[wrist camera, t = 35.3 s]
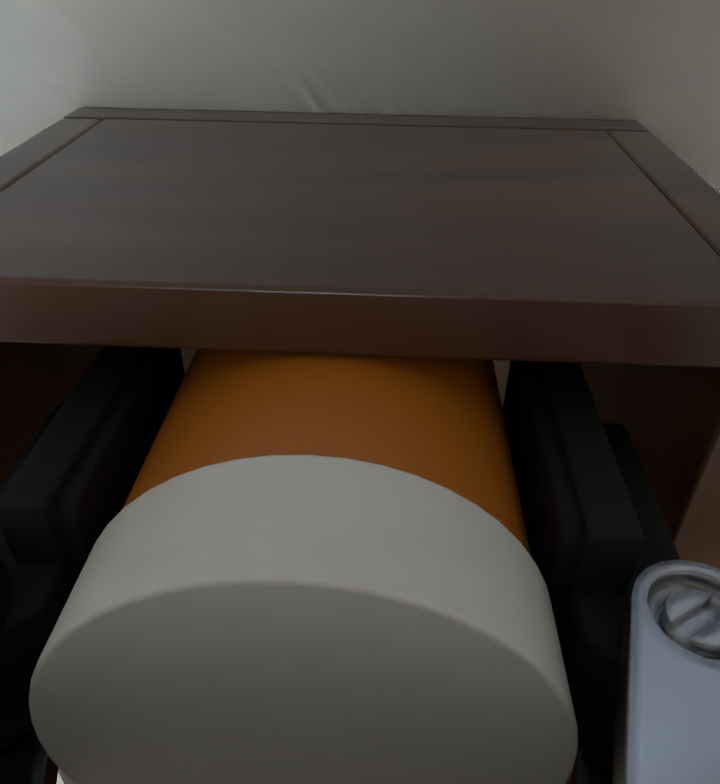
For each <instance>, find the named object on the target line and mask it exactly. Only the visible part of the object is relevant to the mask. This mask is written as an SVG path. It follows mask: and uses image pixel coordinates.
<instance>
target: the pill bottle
mask: <svg viewBox="0 0 720 784" xmlns="http://www.w3.org/2000/svg"><path fill="white" fill-rule="evenodd" d="M29 708H30V715H31V722H32V724H33V727H34V729H35V732H36V734H37V737H38V740H39V741H40V743H41V744H42V746H43V748H44V749H45V751H46V752H47V754H48V755H49V757H50V758H51V759H52V760H53V762H54V763H55V764H56V765H57V766H58V767H59V768H60V770H61V771H62V772H63V773H64V774H65V775H66V776H67V777H68V778H70V779H71V780H72V781H73V782H74V783H75V784H566V782H567V780H568V778H569V776H570V774H571V772H572V770H573V766H574V762H575V758H576V754H577V750H578V727H577V723H576V718H575V713H574V708H573V704H572V699H571V694H570V690H569V685H568V680H567V675H566V671H565V666H564V661H563V657H562V652H561V647H560V642H559V638H558V633H557V628H556V623H555V619H554V614H553V609H552V605H551V601H550V597H549V593H548V589H547V585H546V583H545V581H544V579H543V577H542V575H541V573H540V570H539V568H538V566H537V564H536V563H535V561H534V560H533V559H532V555H531V550H530V545H529V540H528V535H527V530H526V525H525V520H524V515H523V509H522V504H521V499H520V494H519V489H518V484H517V479H516V474H515V469H514V464H513V459H512V454H511V449H510V444H509V438H508V433H507V428H506V423H505V418H504V413H503V408H502V403H501V398H500V393H499V388H498V383H497V378H496V373H495V368H494V362H493V360H480V359H453V358H425V357H398V356H370V355H342V354H315V353H287V352H260V351H232V350H204V349H197V350H196V352H195V354H194V357H193V359H192V361H191V363H190V365H189V367H188V369H187V372H186V374H185V376H184V378H183V380H182V382H181V384H180V387H179V389H178V391H177V393H176V395H175V397H174V399H173V402H172V404H171V406H170V408H169V410H168V412H167V414H166V417H165V419H164V421H163V423H162V425H161V427H160V429H159V432H158V434H157V436H156V438H155V440H154V442H153V444H152V447H151V449H150V451H149V453H148V455H147V457H146V459H145V462H144V464H143V466H142V468H141V470H140V472H139V474H138V477H137V479H136V481H135V483H134V485H133V487H132V489H131V492H130V494H129V496H128V498H127V500H126V502H125V504H124V507H123V509H122V510H121V511H120V512H119V513H118V514H117V515H116V516H115V517H114V518H113V520H112V521H111V522H110V523H109V524H108V525H107V526H106V527H105V529H104V530H103V532H102V533H101V535H100V536H99V538H98V539H97V541H96V542H95V544H94V546H93V548H92V550H91V552H90V554H89V556H88V559H87V561H86V563H85V565H84V567H83V569H82V571H81V573H80V575H79V577H78V579H77V581H76V583H75V585H74V587H73V589H72V592H71V594H70V596H69V598H68V600H67V602H66V604H65V606H64V608H63V610H62V612H61V614H60V616H59V618H58V620H57V623H56V625H55V627H54V629H53V631H52V633H51V635H50V637H49V639H48V641H47V643H46V645H45V647H44V649H43V651H42V653H41V656H40V658H39V660H38V662H37V665H36V667H35V670H34V672H33V675H32V677H31V683H30V692H29Z"/></svg>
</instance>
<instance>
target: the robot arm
mask: <svg viewBox="0 0 720 784" xmlns="http://www.w3.org/2000/svg"><path fill="white" fill-rule="evenodd" d="M184 376H185V372H184V366H183V361H182V355H181V349H177V348H149V347H122V346H103V347H102V349H101V350H100V351H99V353H98V354H97V356H96V357H95V359H94V360H93V362H92V363H91V364H90V366H89V367H88V369H87V370H86V372H85V373H84V375H83V376H82V377H81V379H80V380H79V382H78V383H77V385H76V386H75V388H74V389H73V390H72V392H71V393H70V395H69V396H68V398H67V399H66V401H64V402H61V403H60V404H59V405H58V406H57V407H56V408H55V409H54V411H53V412H52V414H51V415H50V416H49V418H48V419H47V421H46V422H45V423H44V425H43V426H42V428H41V429H40V431H39V432H38V433H37V435H36V436H35V438H34V439H33V441H32V442H31V443H30V445H29V446H28V448H27V449H26V451H25V452H24V453H23V455H22V456H21V458H20V459H19V461H18V462H17V463H16V465H15V466H14V468H13V469H12V470H11V472H10V473H9V475H8V476H7V478H6V479H5V480H4V482H3V483H2V485H1V486H0V784H56V782H57V774H58V766H57V765H56V764H55V763H54V762H53V760H52V759H51V758H50V757H49V755H48V754H47V752H46V751H45V749H44V748H43V746H42V744H41V743H40V741H39V740H38V737H37V734H36V732H35V729H34V727H33V724H32V722H31V715H30V708H29V692H30V683H31V677H32V675H33V672H34V670H35V667H36V665H37V662H38V660H39V658H40V656H41V653H42V651H43V649H44V647H45V645H46V643H47V641H48V639H49V637H50V635H51V633H52V631H53V629H54V627H55V625H56V623H57V620H58V618H59V616H60V614H61V612H62V610H63V608H64V606H65V604H66V602H67V600H68V598H69V596H70V594H71V592H72V589H73V587H74V585H75V583H76V581H77V579H78V577H79V575H80V573H81V571H82V569H83V567H84V565H85V563H86V561H87V559H88V556H89V554H90V552H91V550H92V548H93V546H94V544H95V542H96V541H97V539H98V538H99V536H100V535H101V533H102V532H103V530H104V529H105V527H106V526H107V525H108V524H109V523H110V522H111V521H112V520H113V518H114V517H115V516H116V515H117V514H118V513H119V512H120V511H121V510H122V509H123V507H124V504H125V502H126V500H127V498H128V496H129V494H130V492H131V489H132V487H133V485H134V483H135V481H136V479H137V477H138V474H139V472H140V470H141V468H142V466H143V464H144V462H145V459H146V457H147V455H148V453H149V451H150V449H151V447H152V444H153V442H154V440H155V438H156V436H157V434H158V432H159V429H160V427H161V425H162V423H163V421H164V419H165V417H166V414H167V412H168V410H169V408H170V406H171V404H172V402H173V399H174V397H175V395H176V393H177V391H178V389H179V387H180V384H181V382H182V380H183V378H184ZM503 413H504V418H505V423H506V428H507V433H508V438H509V444H510V449H511V454H512V459H513V464H514V469H515V474H516V479H517V484H518V489H519V494H520V499H521V504H522V509H523V515H524V520H525V525H526V530H527V535H528V540H529V545H530V550H531V555H532V559H533V560H534V561H535V563H536V564H537V566H538V568H539V570H540V573H541V575H542V577H543V579H544V581H545V583H546V585H547V589H548V593H549V597H550V601H551V605H552V609H553V614H554V619H555V623H556V628H557V633H558V638H559V642H560V647H561V652H562V657H563V661H564V666H565V671H566V675H567V680H568V685H569V690H570V694H571V699H572V704H573V708H574V713H575V718H576V723H577V727H578V750H577V754H576V758H575V762H574V766H573V770H572V776H571V784H720V569H718V568H715V567H712V566H709V565H706V564H704V563H701V562H695V561H688V560H681V559H680V556H679V554H678V552H677V549H676V547H675V544H674V542H673V540H672V537H671V535H670V532H669V530H668V528H667V525H666V523H665V521H664V518H663V516H662V513H661V511H660V509H659V506H658V504H657V501H656V499H655V497H654V494H653V492H652V489H651V487H650V485H649V482H648V480H647V477H646V475H645V473H644V470H643V468H642V465H641V463H640V461H639V458H638V456H637V453H636V451H635V449H634V446H633V444H632V442H631V439H630V437H629V434H628V432H627V431H626V429H625V427H624V426H622V425H621V424H615V423H602V421H601V418H600V416H599V413H598V411H597V408H596V405H595V403H594V400H593V397H592V395H591V392H590V389H589V387H588V384H587V381H586V379H585V376H584V373H583V371H582V368H581V365H580V363H563V362H536V361H510V368H509V374H508V380H507V386H506V392H505V398H504V404H503Z"/></svg>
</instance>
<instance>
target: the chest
mask: <svg viewBox="0 0 720 784" xmlns="http://www.w3.org/2000/svg"><path fill="white" fill-rule="evenodd" d="M103 346H122V347H149V348H177V349H181V355H182V361H183V366H184V372H185V374H186V372H187V369H188V367H189V365H190V363H191V361H192V359H193V357H194V354H195V352H196V350H197V349H204V350H232V351H260V352H287V353H315V354H342V355H370V356H398V357H425V358H453V359H480V360H493V362H494V368H495V373H496V378H497V383H498V388H499V393H500V398H501V403H502V408H503V404H504V398H505V392H506V386H507V380H508V374H509V368H510V361H536V362H563V363H580V365H581V368H582V371H583V373H584V376H585V379H586V381H587V384H588V387H589V389H590V392H591V395H592V397H593V400H594V403H595V405H596V408H597V411H598V413H599V416H600V418H601V421H602V423H615V424H621V425H622V426H624V427H625V429H626V431H627V432H628V434H629V437H630V439H631V442H632V444H633V446H634V449H635V451H636V453H637V456H638V458H639V461H640V463H641V465H642V468H643V470H644V473H645V475H646V477H647V480H648V482H649V485H650V487H651V489H652V492H653V494H654V497H655V499H656V501H657V504H658V506H659V509H660V511H661V513H662V516H663V518H664V521H665V523H666V525H667V528H668V530H669V532H670V535H671V537H672V540H673V542H674V544H675V547H676V549H677V552H678V554H679V556H680V559H681V560H688V561H695V562H701V563H704V564H706V565H709V566H712V567H715V568H718V569H720V194H719V193H718V192H717V191H716V190H715V189H714V188H713V187H711V186H710V185H709V184H708V183H707V182H706V181H705V180H704V179H703V178H701V177H700V176H699V175H698V174H697V173H696V172H695V171H694V170H693V169H691V168H690V167H689V166H688V165H687V164H686V163H685V162H684V161H682V160H681V159H680V158H679V157H678V156H677V155H676V154H675V153H674V152H672V151H671V150H670V149H669V148H668V147H667V146H666V145H665V144H663V143H662V142H661V141H660V140H659V139H658V138H657V137H656V136H655V135H653V134H652V133H650V132H649V131H648V130H647V129H646V128H645V127H644V126H643V125H642V124H641V123H639V122H638V121H623V120H581V119H538V118H495V117H453V116H410V115H368V114H325V113H283V112H240V111H197V110H155V109H112V108H79V109H77V110H75V111H74V112H72V113H70V114H69V115H67V116H65V117H64V119H62V120H60V121H58V122H56V123H55V124H53V125H52V126H50V127H48V128H47V129H45V130H43V131H42V132H40V133H38V134H37V135H35V136H34V137H32V138H30V139H29V140H27V141H25V142H24V143H22V144H20V145H19V146H17V147H16V148H14V149H12V150H11V151H9V152H7V153H6V154H4V155H3V156H1V157H0V486H1V485H2V483H3V482H4V480H5V479H6V478H7V476H8V475H9V473H10V472H11V470H12V469H13V468H14V466H15V465H16V463H17V462H18V461H19V459H20V458H21V456H22V455H23V453H24V452H25V451H26V449H27V448H28V446H29V445H30V443H31V442H32V441H33V439H34V438H35V436H36V435H37V433H38V432H39V431H40V429H41V428H42V426H43V425H44V423H45V422H46V421H47V419H48V418H49V416H50V415H51V414H52V412H53V411H54V409H55V408H56V407H57V406H58V405H59V404H60V403H61V402H64V401H66V399H67V398H68V396H69V395H70V393H71V392H72V390H73V389H74V388H75V386H76V385H77V383H78V382H79V380H80V379H81V377H82V376H83V375H84V373H85V372H86V370H87V369H88V367H89V366H90V364H91V363H92V362H93V360H94V359H95V357H96V356H97V354H98V353H99V351H100V350H101V349H102V347H103ZM58 772H59V774H60V776H61V778H62V780H63V782H64V784H75V783H74V782H73V781H72V780H71V779H70V778H68V777H67V776H66V775H65V774H64V773H63V772H62V771H61V770H60V768H59V767H58ZM571 776H572V772H571V774H570V776H569V778H568V780H567V782H566V784H571Z"/></svg>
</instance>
